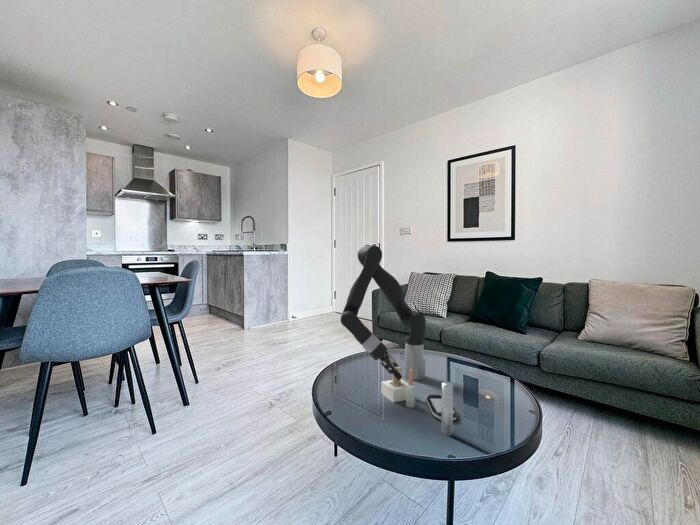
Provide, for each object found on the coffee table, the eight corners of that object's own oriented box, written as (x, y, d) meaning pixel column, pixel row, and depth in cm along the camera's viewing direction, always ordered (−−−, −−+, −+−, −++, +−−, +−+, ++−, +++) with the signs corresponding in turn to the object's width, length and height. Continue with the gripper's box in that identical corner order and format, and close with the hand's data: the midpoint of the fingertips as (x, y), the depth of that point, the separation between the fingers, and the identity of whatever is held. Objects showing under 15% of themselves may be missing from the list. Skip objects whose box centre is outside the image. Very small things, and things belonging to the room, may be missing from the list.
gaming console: (424, 399, 124) (424, 393, 124) (445, 399, 124) (445, 393, 124) (435, 423, 105) (435, 416, 105) (460, 423, 104) (460, 416, 104)
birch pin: (398, 393, 129) (397, 366, 129) (402, 396, 125) (402, 368, 126) (390, 394, 127) (390, 367, 128) (395, 398, 124) (395, 369, 124)
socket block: (400, 389, 133) (400, 363, 133) (413, 398, 124) (413, 370, 124) (381, 393, 129) (381, 365, 129) (393, 402, 120) (393, 373, 120)
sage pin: (411, 403, 119) (411, 384, 120) (416, 406, 116) (417, 387, 116) (404, 404, 118) (404, 385, 118) (409, 408, 115) (409, 389, 115)
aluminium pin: (447, 428, 100) (447, 380, 101) (455, 434, 97) (455, 384, 97) (439, 431, 99) (439, 382, 99) (446, 436, 95) (446, 386, 96)
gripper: (379, 345, 121) (407, 374, 119) (380, 337, 135) (405, 363, 133) (366, 357, 122) (394, 386, 120) (369, 348, 136) (394, 374, 134)
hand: (400, 374), depth 126 cm, fingers open, 8 cm apart
